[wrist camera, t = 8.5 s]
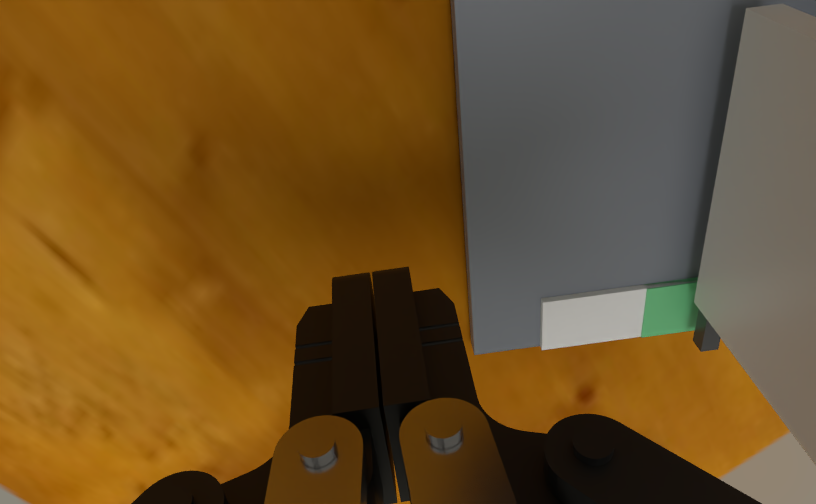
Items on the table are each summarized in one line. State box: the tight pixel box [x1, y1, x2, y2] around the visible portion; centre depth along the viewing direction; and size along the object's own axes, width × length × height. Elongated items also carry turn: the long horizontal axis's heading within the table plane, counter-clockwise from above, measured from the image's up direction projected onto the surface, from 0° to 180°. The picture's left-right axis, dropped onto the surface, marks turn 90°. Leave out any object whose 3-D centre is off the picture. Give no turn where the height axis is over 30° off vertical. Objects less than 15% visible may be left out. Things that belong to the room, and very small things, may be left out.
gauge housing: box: [451, 0, 816, 355], centre depth 14 cm, size 11×10×8 cm
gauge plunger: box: [693, 4, 816, 465], centre depth 14 cm, size 9×1×6 cm, turn 6°
